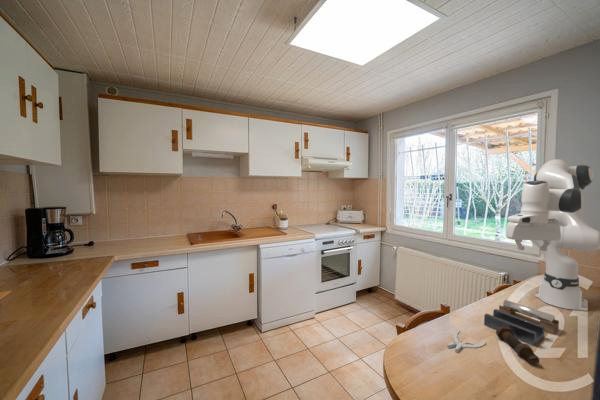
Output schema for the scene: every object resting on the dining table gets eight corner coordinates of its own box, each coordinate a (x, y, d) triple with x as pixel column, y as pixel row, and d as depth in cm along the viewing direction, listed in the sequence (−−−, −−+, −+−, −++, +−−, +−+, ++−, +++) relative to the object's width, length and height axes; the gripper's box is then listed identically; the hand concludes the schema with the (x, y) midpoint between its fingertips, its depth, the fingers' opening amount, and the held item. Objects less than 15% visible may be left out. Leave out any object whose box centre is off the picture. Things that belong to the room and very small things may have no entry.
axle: (503, 308, 113) (503, 300, 113) (506, 306, 115) (506, 299, 114) (551, 325, 99) (551, 316, 99) (554, 322, 101) (554, 314, 101)
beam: (504, 311, 116) (505, 302, 116) (558, 330, 101) (559, 320, 100) (498, 314, 113) (499, 305, 113) (553, 334, 98) (553, 324, 97)
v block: (495, 318, 109) (495, 308, 109) (544, 337, 96) (544, 326, 95) (484, 325, 104) (484, 314, 104) (533, 346, 91) (534, 334, 90)
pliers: (486, 340, 92) (467, 354, 84) (486, 344, 92) (467, 359, 84) (458, 327, 100) (438, 339, 92) (458, 331, 100) (437, 343, 93)
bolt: (531, 371, 81) (500, 341, 96) (546, 365, 80) (513, 336, 95) (522, 356, 81) (493, 328, 96) (538, 350, 80) (505, 323, 95)
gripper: (552, 218, 109) (550, 249, 109) (503, 217, 110) (502, 247, 110) (566, 219, 103) (564, 252, 103) (515, 218, 104) (513, 251, 104)
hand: (532, 250), depth 107 cm, fingers open, 8 cm apart
